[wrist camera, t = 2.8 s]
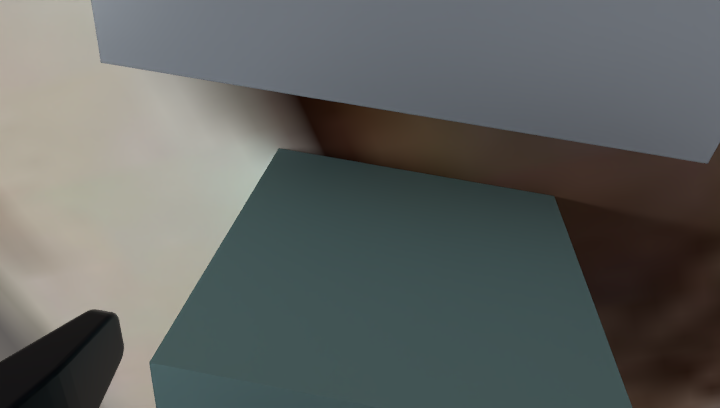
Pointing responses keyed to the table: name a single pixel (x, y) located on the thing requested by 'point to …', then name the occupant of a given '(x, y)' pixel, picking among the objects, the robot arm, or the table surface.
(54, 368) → the robot arm
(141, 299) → the table surface
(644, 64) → the build board
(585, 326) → the teal block
